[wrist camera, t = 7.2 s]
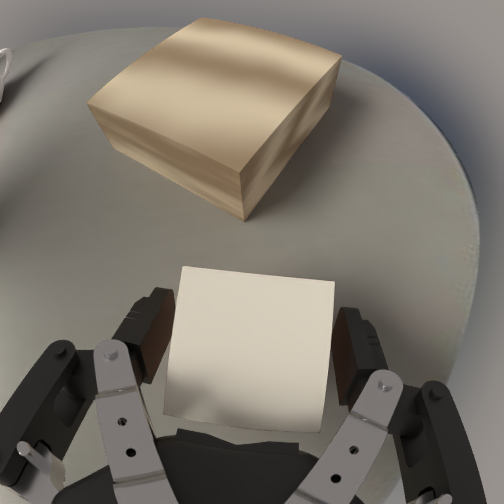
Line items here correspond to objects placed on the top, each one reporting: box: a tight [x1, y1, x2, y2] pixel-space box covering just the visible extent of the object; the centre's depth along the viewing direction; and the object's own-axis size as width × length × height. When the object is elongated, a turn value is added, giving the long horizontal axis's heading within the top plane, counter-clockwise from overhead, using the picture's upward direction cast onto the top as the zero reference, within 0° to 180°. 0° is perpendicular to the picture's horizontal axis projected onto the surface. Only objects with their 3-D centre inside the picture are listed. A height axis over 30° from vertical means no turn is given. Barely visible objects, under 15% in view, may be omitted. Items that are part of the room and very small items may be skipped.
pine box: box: [86, 18, 342, 222], centre depth 19 cm, size 13×13×6 cm
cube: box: [163, 266, 335, 433], centre depth 12 cm, size 5×5×8 cm
